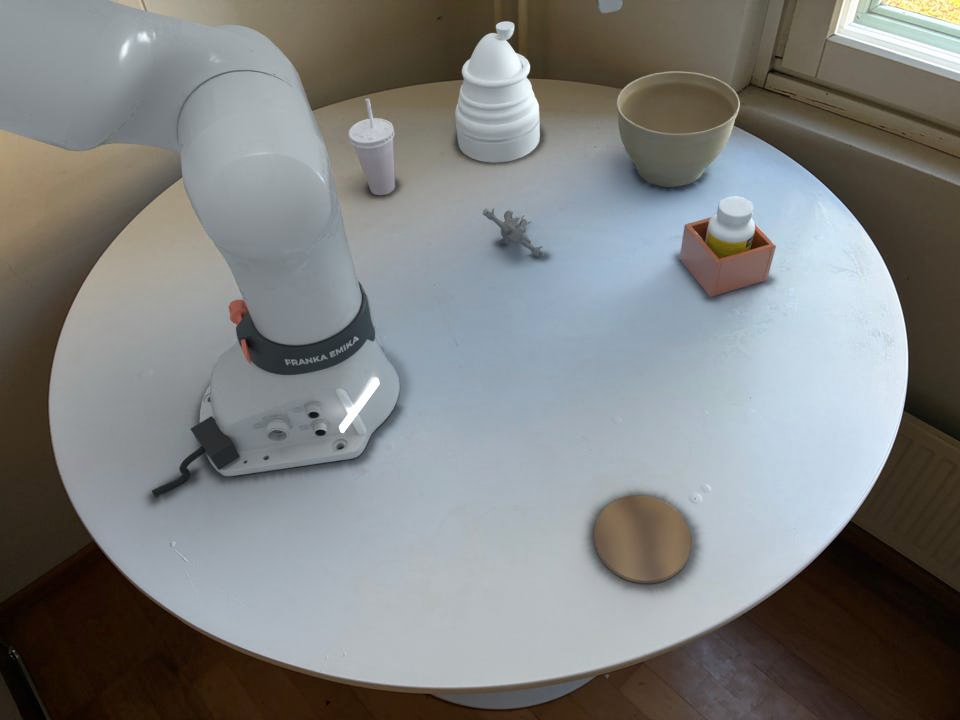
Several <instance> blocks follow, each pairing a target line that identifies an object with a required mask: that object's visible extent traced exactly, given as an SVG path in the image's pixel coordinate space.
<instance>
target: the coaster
mask: <svg viewBox="0 0 960 720" xmlns="http://www.w3.org/2000/svg"><path fill="white" fill-rule="evenodd" d="M593 542H594V546H595V550H596V553H597V555H598V557H599V559H600V560H601V562H602V563H603V565H605V567H607V568H608V570H610V571H611V572H612V573H613V574H615V575H617V576H618V577H620V578H622V579H623V580H626V581H629V582H632V583H637V584H657V583H661V582H664V581H667V580H669V579H671V578H672V577H674V576H675V575H677V574H678V573H679V572H681V570H682V569H683V568H684V566H685V565H686V563H687V562H688V559H689V558H690V554H691V549H692V535H691V531H690V529H689V526H688V523H687V522H686V520H685V519H684V517H683V516H682V514H681V513H680V512H679V511H678V510H677V509H675V508H674V506H672V505H670V504H669V503H667V502H666V501H664V500H661V499H659V498H656V497H653V496H648V495H643V494H642V495H641V494H635V495H627V496H623V497H619V498H617V499H615V500H613V501H612V502H611V503H609V504H608V505H606V506H605V507H604V508H603V509H602V511H601V512H600V513H599V515H598V517H597V518H596V521H595V524H594V529H593Z"/></svg>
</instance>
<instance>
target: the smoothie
mask: <svg viewBox="0 0 960 720" xmlns="http://www.w3.org/2000/svg"><path fill="white" fill-rule="evenodd" d="M365 106H366V110H367V115H368V118H366V119H362V120H360V121H358V122H356V123H354V124H353V125H352V126H351V127H350V128H349V130H348V138H349V139H348V140H349V143H350V144H351V145H352V146H353V147H354V151H355V153H356V155H357V158H358V161H359V163H360V166H361V168H362V171H363V174H364V176H365V180H366V182H367V185H368V187H369V190H370V192H371V193H372V194H373V195H375V196H385V195H388V194H391V193H392V192H393V191H394V190H395V189H396V177H395V176H396V175H395V160H394V159H395V157H394V154H395V153H394V137H395V130H394V124H392V122H391V121H389V120H387V119H384V118H380V117H379V118H378V117H374V114H373V110H372V105H371V100H370V98H369V97H368V98H365Z"/></svg>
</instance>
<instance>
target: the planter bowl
mask: <svg viewBox="0 0 960 720" xmlns="http://www.w3.org/2000/svg"><path fill="white" fill-rule="evenodd" d="M740 102H741V101H740V97H739V95H738V93H737V92H736V90H734V88H733V87H732V86H730V85H729V84H727V83H726V82H724V81H723V80H720V79H719V78H717V77H714V76H711V75H708V74H704V73H699V72H698V73H697V72H692V71H691V72H690V71H676V70H675V71H674V70H673V71H663V72H655V73H651V74H648V75H644V76H641V77H639V78H637V79H634V80H633V81H631V82H629V83H628V84H626V85H625V86H624V88H622V89H621V90H620V92H619V93H618V96H617V98H616V112H617V122H618V124H617V125H618V130H619V131H618V132H619V135H620V139H621V142H622V145H623V147H624V149H625V151H626V153H627V155H628V157H629V159H630V160H631V161H632V162H633V163H634V165H635V166H636V170H637V173H638V175H640V177H641V178H642V179H643V180H645V181H646V182H648V183H650V184H653V185H656V186H660V187H667V188H671V187H673V188H674V187H682V186H687V185H690V184H692V183H694V182H696V181H697V180H698V179H700V178H701V177H702V175H703V174H704V171H705V170H706V168H708V167H709V166H710V165H711V164H713V162H714V161H715V160H716V159H717V158H718V156H719V155H720V154H721V152H723V149H724V148H725V146H726V145H727V143H728V141H729V139H730V137H731V134H732V133H733V132H732V131H733V129H734V126H735V122H736V121H735V120H736V119H737V117H738V114H739V111H740V105H741V104H740Z"/></svg>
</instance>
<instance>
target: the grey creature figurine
mask: <svg viewBox="0 0 960 720" xmlns="http://www.w3.org/2000/svg"><path fill="white" fill-rule="evenodd" d="M513 213H514V211H513V210H512V209H507V210H506V211H505V212H504V214H503V220H504V221H502V220H500V219H499V218H498V217H497V216H496V215H495V208H494V207H493V208H492V209H491V211H489V210H488V209H487V208H484V209H483V210H482V215H483V216H484V217H486V218H487V219H488V220H489V221H492V222H494V223H495V224H496V225H497V226H498V227H499V229H500V235H501V236H502V238H501V239H500V240H499V241H498V244H501V243H503V242H505V241H506V242H507V243H510V244H518V245H522V246H523V247H524V248H527V249H529V250H530V251H531V252H532V254H533V255H535V256H536V257H538V258H543V257H544V255H545V252H543V251H542V250H541V249H542V248H544V246H543V245H540V246H535V245H533V244H532V240H531V239H530V238H529V236H528V235H526V229H527V228H528V225H530V224H531V223H533V221H532V220H530V221H527V219H525V217H526V216H525V215H526V214H522V216H520V215H519V216H516V217H513Z"/></svg>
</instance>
